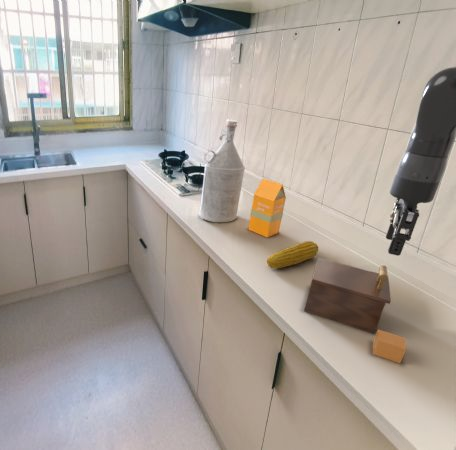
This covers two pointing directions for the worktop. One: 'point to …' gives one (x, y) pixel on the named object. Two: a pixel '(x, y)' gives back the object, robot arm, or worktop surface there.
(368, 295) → the bread lid
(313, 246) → the food
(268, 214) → the orange juice
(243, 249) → the worktop surface
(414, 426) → the worktop surface
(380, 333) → the tan cuboid
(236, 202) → the grey jug
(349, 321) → the bin
